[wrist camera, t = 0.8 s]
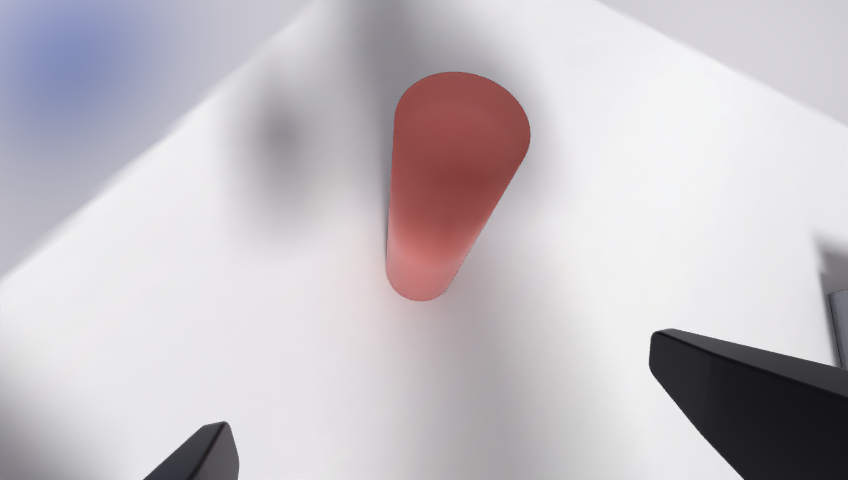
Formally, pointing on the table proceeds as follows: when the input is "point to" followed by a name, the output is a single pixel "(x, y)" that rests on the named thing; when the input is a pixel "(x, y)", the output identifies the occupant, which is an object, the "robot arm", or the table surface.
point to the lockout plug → (448, 175)
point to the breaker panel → (841, 323)
